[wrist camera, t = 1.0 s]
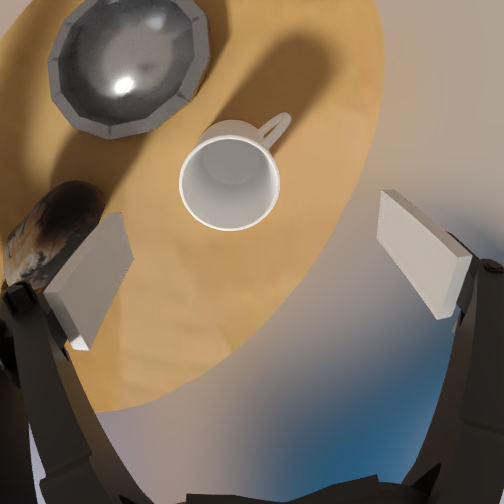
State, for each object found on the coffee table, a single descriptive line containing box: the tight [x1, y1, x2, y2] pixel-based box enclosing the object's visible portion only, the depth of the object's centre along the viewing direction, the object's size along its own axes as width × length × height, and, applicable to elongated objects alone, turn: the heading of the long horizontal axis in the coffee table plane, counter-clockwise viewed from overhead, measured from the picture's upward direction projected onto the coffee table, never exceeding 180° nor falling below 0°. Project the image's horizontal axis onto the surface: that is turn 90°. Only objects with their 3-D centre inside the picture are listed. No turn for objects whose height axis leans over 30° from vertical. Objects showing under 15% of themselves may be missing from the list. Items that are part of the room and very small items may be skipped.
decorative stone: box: [4, 180, 105, 290], centre depth 29 cm, size 18×9×15 cm, turn 128°
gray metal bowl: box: [48, 0, 212, 140], centre depth 25 cm, size 19×19×3 cm
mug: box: [179, 112, 291, 231], centre depth 28 cm, size 12×8×12 cm
